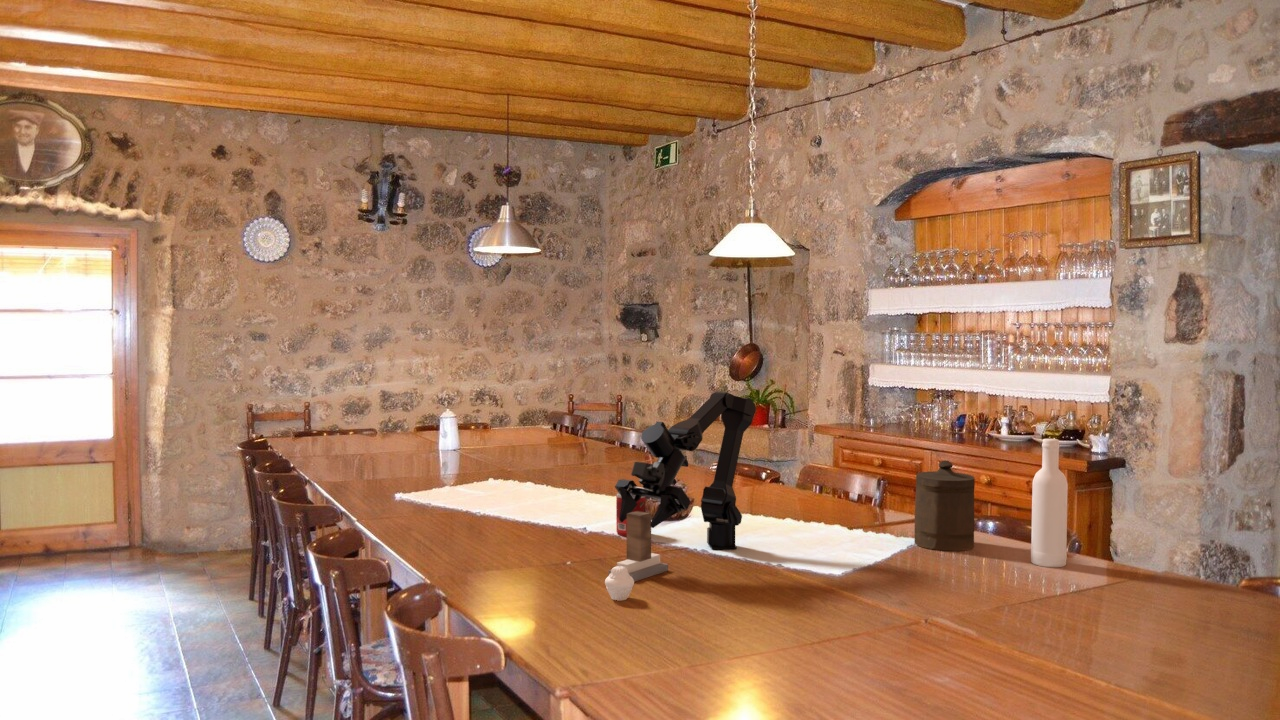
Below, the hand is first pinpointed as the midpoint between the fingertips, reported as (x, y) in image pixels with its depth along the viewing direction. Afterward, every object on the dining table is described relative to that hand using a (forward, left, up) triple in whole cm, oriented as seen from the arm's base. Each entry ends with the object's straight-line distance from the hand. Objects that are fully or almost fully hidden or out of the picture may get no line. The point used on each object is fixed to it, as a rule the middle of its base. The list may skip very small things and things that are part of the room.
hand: (635, 523), depth 219 cm
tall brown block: (-1, -1, -8) cm, 8 cm away
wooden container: (-83, -22, -12) cm, 87 cm away
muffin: (+5, +18, -12) cm, 22 cm away
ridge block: (-1, -1, -12) cm, 12 cm away
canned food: (-3, -42, -12) cm, 44 cm away
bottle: (-100, -1, -12) cm, 101 cm away
